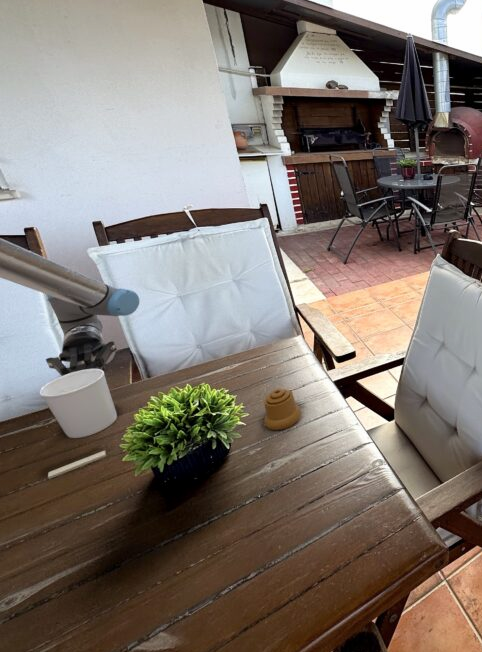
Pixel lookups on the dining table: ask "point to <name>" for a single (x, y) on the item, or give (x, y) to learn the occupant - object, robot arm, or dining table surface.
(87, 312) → the robot arm
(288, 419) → the ornamental finial
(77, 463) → the strip
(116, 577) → the dining table surface
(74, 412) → the white tapered cylinder
